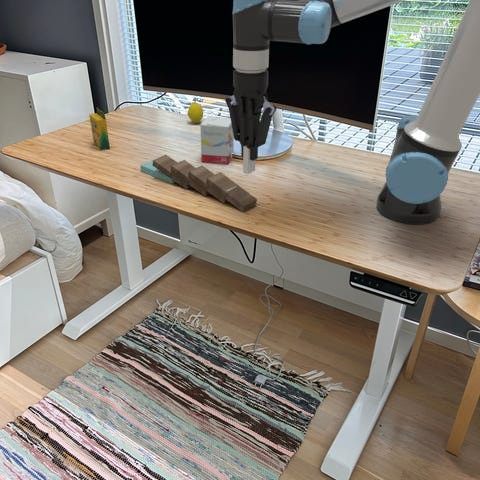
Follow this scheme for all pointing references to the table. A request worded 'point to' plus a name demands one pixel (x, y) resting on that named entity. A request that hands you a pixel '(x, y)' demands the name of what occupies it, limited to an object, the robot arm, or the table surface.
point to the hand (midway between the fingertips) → (249, 171)
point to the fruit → (195, 112)
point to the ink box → (216, 140)
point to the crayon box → (99, 130)
